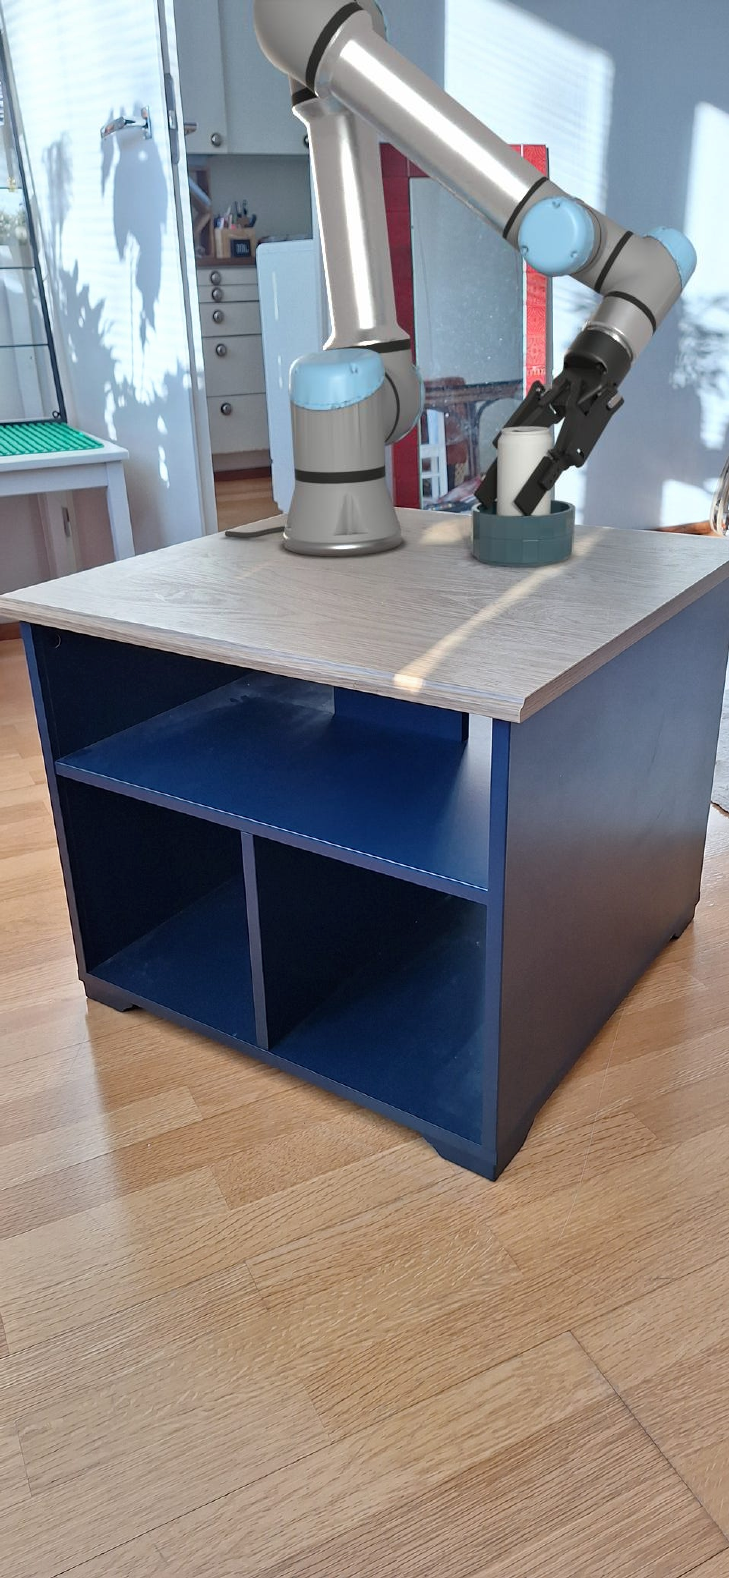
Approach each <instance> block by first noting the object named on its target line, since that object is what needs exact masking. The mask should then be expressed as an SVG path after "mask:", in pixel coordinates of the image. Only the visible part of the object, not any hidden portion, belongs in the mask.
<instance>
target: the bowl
mask: <svg viewBox="0 0 729 1578" xmlns="http://www.w3.org/2000/svg"><path fill="white" fill-rule="evenodd" d="M470 513H471V515H470V517H471V518H470V519H471V521H470V522H471V524H470V529H471V530H470V553H471V555H472V556H474V557H475V559H476V560H477V561H479V562H480V563H484V564H487V565H491V566H497V567H508V568H536V567H546V566H552V565H557V564H561V563H563V562H566V561H567V560H568V559H569V557H571V556H572V555H573V553H574V551H575V549H574V548H575V530H576V529H575V527H576V506H575V505H574V504H573V503H571V502H568V501H564V500H558V499H552V498H551V505H550V514H545V515H529V516H513V515H498V514H497V499H496V500H495V501H494V503H493V504H492V506H491V507H490V509H485V508H484V507H483V505H482V504H481V503H480V502H479V503H478V502H477V503H475V504H474V505H472V506H471V512H470Z"/></svg>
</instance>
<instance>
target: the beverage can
mask: <svg viewBox="0 0 729 1578" xmlns="http://www.w3.org/2000/svg"><path fill="white" fill-rule="evenodd" d="M500 431H501V432H502V435H501V436H500V438H499V440H498V451H497V456H498V458H497V499H496V500H497V514H498V515H513V516H525V515H524V514H523V513H522V512H521V510H520V509H519V508H518V507H517V506H516V504H515V503H514V502H513V501H514V500H515V498H516V497H517V495H518V494H519V492H520V491H521V489H522V488H523V486H524V485H525V484H526V482H527V481H528V479H529V478H530V476H531V475H532V473H533V472H534V470H535V469H536V467H537V466H538V464H539V463H540V461H541V460H542V458H543V457H544V456H548V457H549V458H550V459H551V460H552V457H551V455H550V454H549V453H548V450H550V449H553V448H554V446H553V444H554V438H553V437H552V436H551V434H550V431H551V428H550V427H549V428H546V427H533V426H531V427H510V428H504V429H502V428H501V429H500ZM550 452H551V451H550ZM551 499H552V488H551V489H550V490H549V491H547V492H546V493H545V495H544V496H543V498H542V499H541V501H540V502H539V504H538V505H537V507H536V508H535V510H534V511H533V513H532V514H531V515H545V514H550V505H551Z"/></svg>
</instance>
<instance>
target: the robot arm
mask: <svg viewBox="0 0 729 1578" xmlns="http://www.w3.org/2000/svg"><path fill="white" fill-rule="evenodd" d="M252 11H253V13H252V20H253V27H254V28H253V29H254V32H255V36H256V40H257V42H258V45H259V47H260V50H261V51H262V52H263V54H264V56H265V58H266V59H267V60H268V61H269V62H270V63H271V64H272V65H273V66H274V67H275V68H276V69H278V70H279V71H281V72H282V73H283V74H286V75H287V77H288V84H289V93H290V100H291V108H292V112H293V115H295V116H296V117H297V118H299V119H300V121H301V122H302V123H304V125H305V126H306V129H307V136H308V143H309V152H310V159H311V167H312V177H313V183H314V192H315V200H316V209H317V217H318V225H319V233H320V239H321V240H320V241H321V248H322V249H321V250H322V256H323V257H322V258H323V265H324V271H325V272H324V273H325V280H326V289H327V296H328V305H329V312H330V321H331V328H332V331H331V335H330V337H329V338H328V340H327V341H326V342H325V344H324V345H323V348H322V349H323V350H322V351H320V352H316V351H314V352H311V353H307V354H304V355H302V356H299V357H298V358H296V359H295V360H294V361H293V362H292V364H291V365H290V369H289V384H288V389H287V393H288V397H289V407H290V408H289V409H290V422H291V423H290V424H291V440H292V455H293V469H294V470H293V471H294V472H293V473H294V490H293V493H292V496H291V501H290V505H289V509H288V514H287V518H286V524H285V525H281V526H276V527H270V528H265V529H261V530H256V531H249V532H246V531H245V532H243V531H233V530H225V531H224V536H225V537H227V538H237V539H253V538H259V537H263V536H268V535H272V534H279V533H283V544H284V545H283V546H284V548H285V549H286V550H288V551H290V552H293V553H297V554H301V555H308V556H318V557H319V556H320V557H321V556H322V557H344V556H345V557H346V556H347V557H348V556H349V557H350V556H360V555H361V556H362V555H369V554H376V553H381V552H385V551H388V550H391V549H394V548H397V547H398V546H400V544H402V528H401V523H400V521H399V520H398V516H397V513H396V509H395V506H394V503H393V502H394V501H393V500H392V497H391V494H390V491H389V488H388V485H387V476H386V474H387V473H386V469H387V468H386V447H388V446H392V445H393V444H395V443H397V442H399V441H400V440H402V439H403V438H404V437H406V436H407V435H408V434H409V433H410V432H411V431H412V430H413V429H414V428H415V426H416V425H417V424H418V422H419V420H420V419H421V417H422V414H423V410H424V407H425V403H426V389H425V384H424V381H423V377H422V375H421V373H420V371H419V370H418V368H417V366H416V365H415V364H414V362H413V353H412V346H411V345H412V343H411V336H410V334H409V333H407V332H406V331H405V330H404V329H403V328H402V327H401V326H400V325H399V323H398V320H397V310H396V301H395V290H394V281H393V280H394V279H393V272H392V261H391V252H390V251H391V250H390V241H389V232H388V225H387V224H388V223H387V222H388V221H387V213H386V203H385V193H384V185H383V174H382V165H381V156H380V146H379V137H378V136H380V137H381V138H383V139H384V140H385V141H386V142H387V143H389V145H391V146H392V147H394V148H395V149H396V150H397V151H398V152H399V153H401V154H402V155H403V156H404V157H405V158H407V159H408V160H409V161H410V162H411V163H413V164H414V165H415V166H416V167H417V168H419V169H420V170H421V171H422V172H423V173H424V174H426V175H427V176H428V177H429V178H431V179H432V180H433V181H434V182H435V183H437V184H438V186H440V187H441V188H443V189H444V190H445V191H446V192H448V193H449V194H450V195H451V196H452V197H453V198H455V199H456V200H457V201H458V202H460V204H461V205H463V206H464V207H465V208H467V210H469V211H470V212H471V213H472V214H473V215H474V216H476V217H477V218H478V219H480V220H481V221H482V222H483V223H484V224H486V225H487V226H488V227H489V228H491V229H492V230H493V231H494V232H495V233H497V234H498V235H499V236H500V237H501V238H502V239H504V240H505V242H507V243H508V244H509V245H510V246H511V247H513V249H515V250H516V251H517V252H518V253H520V254H521V256H522V258H523V260H524V261H525V263H526V264H527V265H528V266H529V267H530V268H531V269H533V270H534V271H535V272H537V273H538V274H540V275H542V276H545V277H549V278H558V277H565V276H569V277H571V279H574V280H575V281H577V282H578V283H580V284H582V285H584V286H586V287H587V288H589V289H591V290H592V291H594V292H596V293H597V294H598V295H601V296H602V298H601V300H600V301H599V302H598V304H597V305H596V307H595V308H594V310H593V311H592V313H591V314H590V315H589V316H588V318H587V320H586V321H585V322H584V324H583V325H582V328H581V331H580V332H579V333H578V334H577V335H576V336H575V338H574V340H573V341H572V342H571V344H570V345H569V346H568V348H567V350H566V351H565V353H564V356H563V363H562V364H563V365H562V371H561V372H559V374H558V375H556V376H555V377H554V378H553V380H551V382H549V383H545V384H543V383H542V382H541V380H540V379H536V380H535V381H533V382H532V383H531V385H530V387H529V389H528V392H527V394H526V396H525V397H524V399H522V402H521V403H520V404H519V405H518V406H517V407H516V409H515V410H514V412H513V413H512V414H511V416H510V417H509V418H508V420H507V421H506V422H505V424H504V425H503V426H502V428H501V429H504V428H510V427H531V426H533V427H546V428H550V427H552V426H553V425H558V424H560V422H562V423H561V425H560V426H561V427H560V429H559V432H558V433H557V434H558V435H557V437H556V441H555V443H554V446H553V449H550V450H548V453H549V454H550V455H551V457H552V460H551V459H550V458H549V457H548V456H544V457H543V458H542V460H541V461H540V463H539V464H538V466H537V467H536V469H535V470H534V472H533V473H532V475H531V476H530V478H529V479H528V481H527V482H526V484H525V485H524V486H523V488H522V489H521V491H520V492H519V494H518V495H517V497H516V498H515V500H514V501H513V502H514V503H515V504H516V506H517V507H518V508H519V509H520V510H521V512H522V513H523V514H524V515H525V516H529V515H531V514H532V513H533V511H534V510H535V508H536V507H537V505H538V504H539V502H540V501H541V499H542V498H543V496H544V495H545V493H546V492H547V491H549V490H550V489H551V490H552V488H553V487H554V486H555V484H556V483H557V481H558V480H559V479H560V477H561V475H562V474H563V472H565V471H568V470H569V469H570V467H575V468H576V469H580V468H582V467H583V466H584V465H585V464H586V462H587V460H588V458H589V456H590V455H591V453H592V451H593V450H594V448H595V447H596V445H597V443H598V441H599V440H600V438H601V436H602V434H603V433H604V431H605V429H606V428H607V426H608V424H609V423H610V420H611V419H612V417H613V416H614V414H616V413H617V411H619V409H621V407H622V406H623V405H624V404H625V399H624V397H623V396H622V394H621V392H620V391H619V390H618V389H619V387H620V385H621V384H622V383H623V381H624V380H625V378H626V377H627V375H628V373H629V372H630V371H631V368H632V365H634V364H635V363H636V361H637V359H638V358H639V356H640V355H641V353H643V351H644V349H645V348H646V346H647V344H648V343H649V342H650V340H651V338H652V337H653V336H654V335H655V333H656V331H658V329H659V327H660V325H661V324H662V322H663V321H664V320H665V318H666V317H667V315H668V314H669V313H670V311H671V310H672V308H674V307H673V306H675V304H676V302H677V301H678V300H679V298H681V295H682V294H683V291H684V289H685V288H686V287H687V285H688V283H689V281H690V279H692V277H693V274H694V273H695V271H696V268H697V264H698V256H697V250H696V248H695V247H694V245H693V243H692V242H691V240H690V239H689V238H688V237H687V236H686V235H685V234H684V233H682V232H681V231H680V230H678V229H676V228H674V227H670V228H667V227H666V226H664V225H658V226H655V227H652V228H650V229H649V230H647V232H646V233H644V234H642V236H641V235H639V234H637V233H636V232H635V233H634V232H633V231H631V230H628V229H627V228H625V227H623V226H622V225H620V224H619V223H617V222H616V221H614V220H613V219H611V218H610V217H608V216H606V215H605V214H604V213H602V212H600V211H599V210H597V209H595V208H594V207H592V206H591V205H589V204H588V203H585V201H584V200H582V199H581V198H578V197H577V196H575V195H572V194H569V193H568V192H566V191H564V189H562V188H561V187H560V186H559V185H557V183H555V182H554V181H552V180H551V179H549V178H548V177H547V176H546V175H545V174H544V173H543V172H541V171H540V169H538V168H537V167H536V166H535V165H533V164H532V163H531V162H529V161H528V160H527V158H525V157H524V156H523V155H522V154H520V153H519V152H518V151H517V150H516V149H514V148H513V147H512V146H511V145H510V144H508V143H507V142H506V141H505V140H503V139H502V137H500V136H499V135H498V134H497V133H495V132H494V131H493V130H492V129H491V128H490V127H488V126H487V125H486V124H484V123H483V122H482V121H481V120H480V119H479V118H477V116H475V115H474V114H473V113H472V112H471V111H469V110H468V109H467V108H466V107H464V106H463V105H462V104H461V103H460V102H458V101H457V100H456V99H455V98H454V97H453V96H451V95H450V94H449V93H448V92H447V91H446V90H445V89H443V88H442V87H440V86H439V85H438V84H437V83H436V82H435V81H434V80H432V79H431V78H430V77H429V76H428V75H426V73H424V72H423V71H421V69H419V68H418V67H417V66H416V65H414V63H412V62H411V61H410V60H409V59H408V58H406V56H404V55H403V54H402V53H400V52H399V51H398V50H397V49H396V48H395V47H394V46H392V38H391V30H390V26H389V22H388V18H387V16H386V14H385V11H384V9H383V7H382V6H381V4H380V3H379V1H378V0H254V4H253V10H252ZM501 435H502V432H501V430H499V432H498V433H497V435H496V436H495V437H494V438H493V440H492V442H491V443H492V446H493V447H494V448H495V450H496V451H497V452H498V440H499V438H500V436H501ZM550 451H551V452H550ZM497 458H498V455H497V456H496V457H495V459H494V460H493V461H492V463H491V464H490V466H489V467H488V468H487V470H486V473H485V476H484V478H483V479H482V480H481V482H480V483H479V485H478V486H477V488H476V489H475V490H474V492H473V496H474V497H475V498H476V500H477V501H478V502H479V503H481V504H482V505H483V507H484V508H485V509H490V507H491V506H492V504H493V503H494V501H495V500H497Z"/></svg>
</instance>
